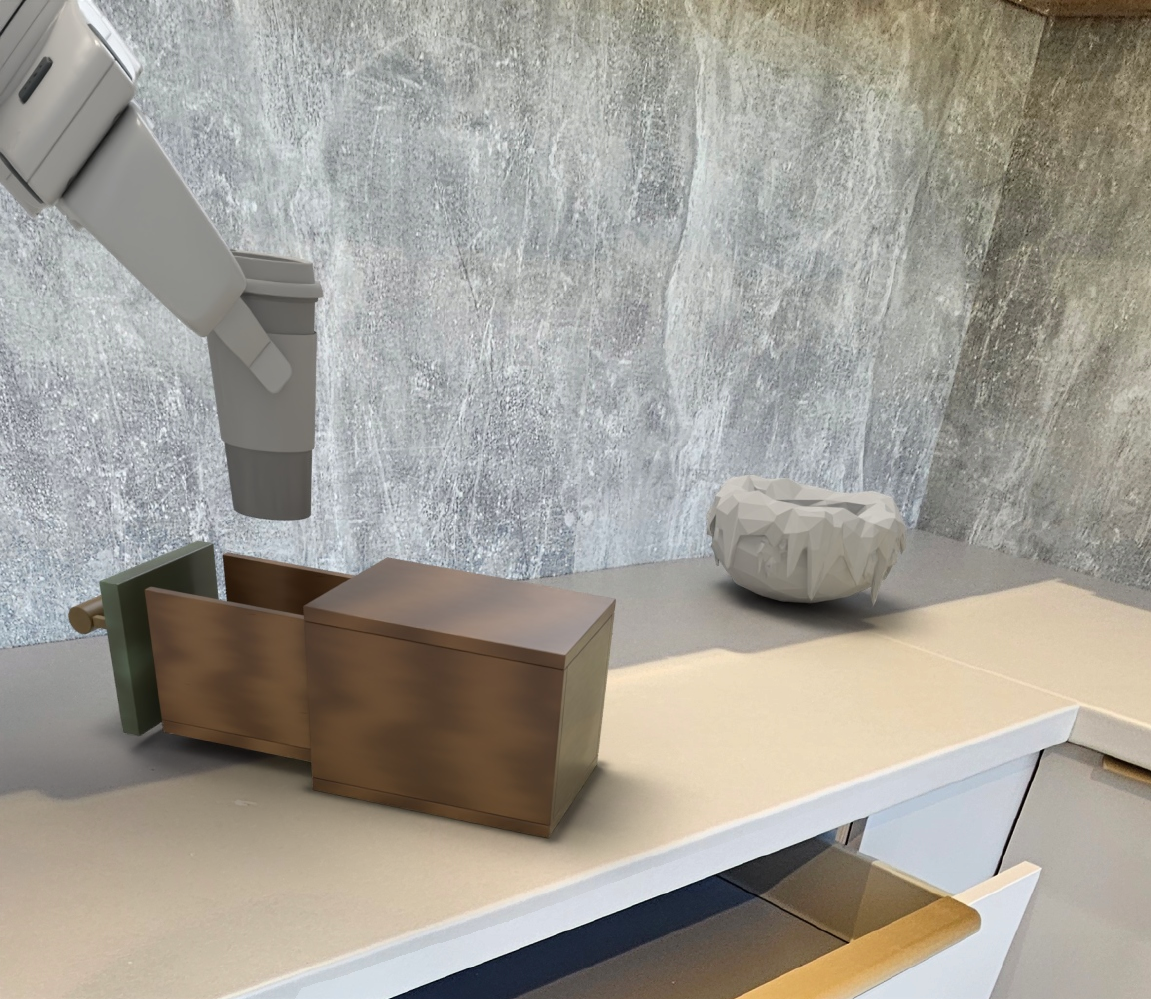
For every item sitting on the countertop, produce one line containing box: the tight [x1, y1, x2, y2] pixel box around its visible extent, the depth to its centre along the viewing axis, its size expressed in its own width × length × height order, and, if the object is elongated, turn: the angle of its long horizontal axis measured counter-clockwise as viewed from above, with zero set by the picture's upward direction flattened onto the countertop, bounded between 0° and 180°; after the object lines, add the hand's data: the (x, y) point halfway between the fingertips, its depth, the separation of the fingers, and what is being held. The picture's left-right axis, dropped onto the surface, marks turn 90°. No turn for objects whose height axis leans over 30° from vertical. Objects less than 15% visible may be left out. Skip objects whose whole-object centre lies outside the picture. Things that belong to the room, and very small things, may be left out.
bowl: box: [705, 474, 907, 607], centre depth 118 cm, size 21×20×10 cm
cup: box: [206, 248, 325, 522], centre depth 67 cm, size 7×7×12 cm
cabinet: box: [303, 556, 617, 839], centre depth 74 cm, size 16×14×11 cm
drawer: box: [67, 540, 356, 763], centre depth 75 cm, size 19×12×9 cm, turn 76°
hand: (274, 373), depth 66 cm, fingers closed on cup, 6 cm apart
